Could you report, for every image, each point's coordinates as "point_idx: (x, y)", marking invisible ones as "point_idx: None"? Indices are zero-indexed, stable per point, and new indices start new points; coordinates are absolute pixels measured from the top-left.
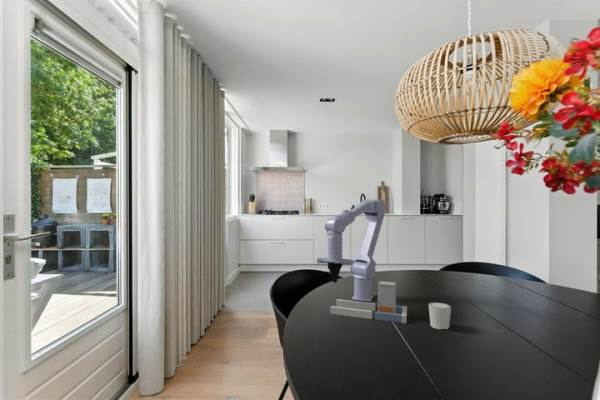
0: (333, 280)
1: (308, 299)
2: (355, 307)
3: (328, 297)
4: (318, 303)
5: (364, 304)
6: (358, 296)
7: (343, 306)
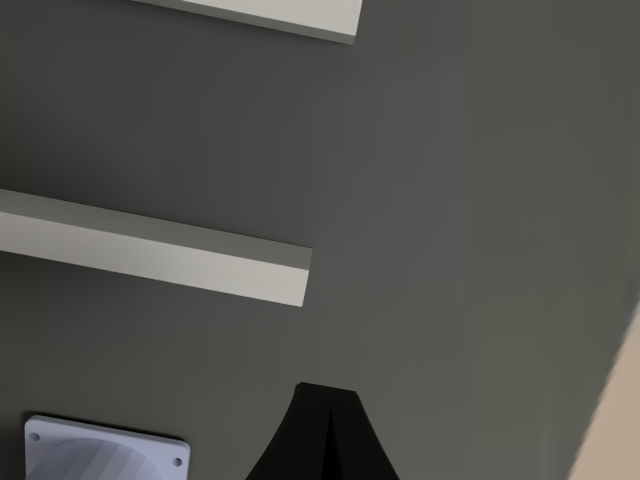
0: (346, 405)
1: (574, 402)
2: (128, 216)
3: None
4: (482, 307)
5: (17, 210)
6: (120, 464)
7: (243, 237)
